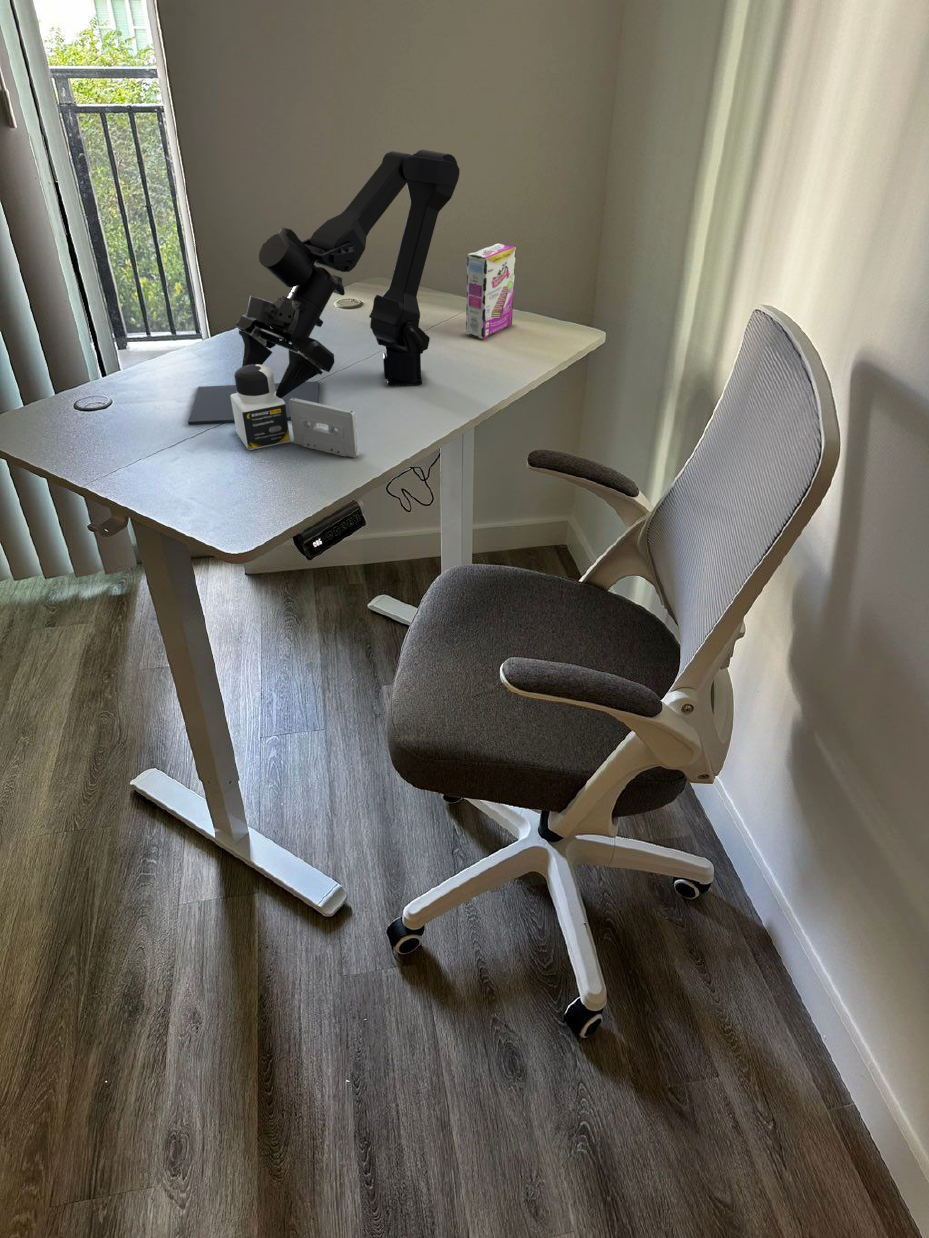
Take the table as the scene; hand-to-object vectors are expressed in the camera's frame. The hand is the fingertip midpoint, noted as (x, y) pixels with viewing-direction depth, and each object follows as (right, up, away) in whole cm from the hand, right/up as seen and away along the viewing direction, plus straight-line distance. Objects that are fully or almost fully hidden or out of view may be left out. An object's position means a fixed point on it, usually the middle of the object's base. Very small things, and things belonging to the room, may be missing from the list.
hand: (260, 389), depth 138 cm
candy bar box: (+38, +24, +45) cm, 64 cm away
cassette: (+10, -10, +2) cm, 14 cm away
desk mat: (-4, +2, +15) cm, 16 cm away
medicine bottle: (-1, -7, +5) cm, 9 cm away
